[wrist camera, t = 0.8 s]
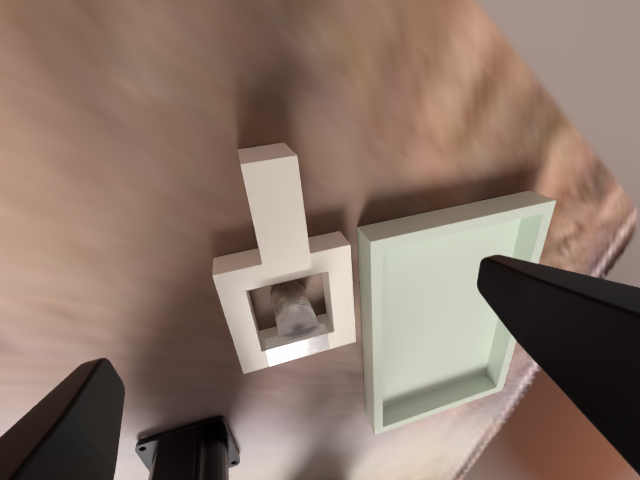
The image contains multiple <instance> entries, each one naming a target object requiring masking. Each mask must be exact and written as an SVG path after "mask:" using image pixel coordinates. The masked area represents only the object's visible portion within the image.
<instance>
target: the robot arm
mask: <svg viewBox="0 0 640 480" xmlns="http://www.w3.org/2000/svg"><path fill="white" fill-rule="evenodd" d="M477 288H478V291H479V293H480V294H481V295H482V297H483V298H484V299H485V301H486V302H487V303H488V305H489V306H490V307H491V308H492V310H493V311H494V312H495V314H496V315H497V316H498V318H499V319H500V320H501V322H502V323H503V324H504V326H505V327H506V328H507V330H508V331H509V332H510V333H511V335H512V336H513V337H514V338H515V340H516V341H517V342H518V343H519V344H520V345H521V347H522V348H523V349H524V350H525V351H526V352H527V353H528V354H529V355H530V356H531V358H532V359H533V360H534V361H535V362H536V363H537V364H538V365H539V366H540V367H541V368H542V370H543V371H544V372H545V373H546V374H547V375H548V376H549V377H550V378H551V379H552V380H553V381H554V383H556V385H557V386H558V387H559V388H560V389H561V390H562V391H563V392H564V393H565V395H566V396H567V397H568V398H569V399H570V400H571V401H572V402H573V403H574V405H575V406H576V407H577V408H578V409H579V410H580V411H581V412H582V413H583V414H584V415H585V417H586V418H587V419H588V420H589V421H590V422H591V423H592V424H593V425H594V426H595V427H596V429H597V430H598V431H599V432H600V433H601V434H602V435H603V436H604V437H605V438H606V439H607V441H608V442H609V443H610V444H611V445H612V446H613V447H614V448H615V449H616V450H617V452H619V454H620V455H621V456H622V457H623V458H624V459H625V460H626V461H627V462H628V464H629V465H630V466H631V467H632V468H633V469H634V470H635V471H636V472H637V473H638V475H639V476H640V288H638V287H634V286H630V285H626V284H621V283H617V282H613V281H609V280H604V279H600V278H596V277H592V276H588V275H583V274H579V273H575V272H571V271H566V270H562V269H558V268H554V267H550V266H545V265H541V264H537V263H533V262H528V261H524V260H520V259H516V258H511V257H507V256H503V255H492V256H488V257H485V258H483V259H482V260H481V262H480V266H479V272H478V278H477ZM124 397H125V388H124V384H123V382H122V380H121V378H120V377H119V375H118V374H117V372H116V370H115V369H114V367H113V365H112V364H111V362H110V361H109V360H108V359H106V358H100V359H96V360H92V361H88V362H85V363H83V364H81V365H80V366H79V367H77V368H76V369H75V370H74V371H73V372H72V373H71V374H70V375H69V376H68V377H66V378H65V379H64V380H63V381H62V382H61V383H60V384H59V385H58V386H56V387H55V388H54V389H53V390H52V391H51V392H50V393H49V394H48V395H47V396H45V397H44V398H43V399H42V400H41V401H40V402H39V403H38V404H37V405H35V406H34V407H33V408H32V409H31V410H30V411H29V412H28V413H27V414H26V415H24V416H23V417H22V418H21V419H20V420H19V421H18V422H17V423H16V424H14V425H13V426H12V427H11V428H10V429H9V430H8V431H7V432H6V433H5V434H3V435H2V436H1V437H0V480H113V479H114V474H115V468H116V462H117V454H118V446H119V438H120V430H121V422H122V413H123V405H124ZM135 451H136V453H137V454H138V456H139V457H140V458H141V460H142V461H143V463H144V464H145V466H146V467H147V469H148V470H149V472H150V474H149V480H229V468H230V467H233V466H236V465H238V464H239V463H240V456H239V454H238V451H237V449H236V446H235V444H234V441H233V439H232V436H231V434H230V431H229V429H228V426H227V424H226V421H225V419H224V417H222V416H217V417H213V418H210V419H207V420H204V421H201V422H197V423H194V424H191V425H188V426H184V427H181V428H178V429H175V430H171V431H168V432H165V433H162V434H158V435H155V436H152V437H149V438H146V439H142V440H140V441H138V442H137V444H136V448H135Z"/></svg>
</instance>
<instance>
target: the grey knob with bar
mask: <svg viewBox="0 0 640 480" xmlns="http://www.w3.org/2000/svg"><path fill="white" fill-rule="evenodd" d="M271 301H272V306H273V311H274V315H275V320H276V325H277V329H278V334H279V336H276V337H273V338H269V339H265V346H266V352H267V356H268V360H269V364H270V366H272V365H276V364H279V363H283V362H286V361H290V360H293V359H297V358H300V357H304V356H307V355H311V354H314V353H317V352H321V351H324V350H328V349H330V347H329V338H328V332H327V330H326V328H325V325H324V324H321V325H319V324H318V321H317V319H316V316H315V313H314V311H313V308H312V306H311V303H310V301H309V298H308V295H307V293H306V290H305V288H304V286H303V285H302V284H301V283H300V282H298V281H296V280H290V281H286V282H281V283H278V284H277V285H276V286H275V287H274V288H273V290H272V292H271Z"/></svg>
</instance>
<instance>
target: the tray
mask: <svg viewBox="0 0 640 480" xmlns="http://www.w3.org/2000/svg"><path fill="white" fill-rule="evenodd" d="M555 203H556V200H554V199H552V198H549V197H546V196H543V195H540V194H537V193H534V192H532V191H524V192H520V193H515V194H510V195H506V196H501V197H496V198H492V199H487V200H482V201H477V202H473V203H468V204H463V205H459V206H454V207H449V208H445V209H440V210H435V211H431V212H426V213H421V214H417V215H412V216H407V217H402V218H398V219H393V220H388V221H384V222H379V223H374V224H370V225H365V226H360V227H357V239H358V262H359V285H360V308H361V331H362V354H363V377H364V399H365V414H366V416H367V419H368V421H369V423H370V426H371V428H372V430H373V433H374V435H377V434H380V433H383V432H386V431H388V430H391V429H394V428H397V427H400V426H403V425H405V424H408V423H411V422H414V421H417V420H420V419H422V418H425V417H428V416H431V415H434V414H436V413H439V412H442V411H445V410H448V409H451V408H453V407H456V406H459V405H462V404H465V403H467V402H470V401H473V400H476V399H479V398H482V397H484V396H487V395H490V394H493V393H496V392H499V391H501V390H502V389H503V386H504V382H505V379H506V375H507V372H508V368H509V365H510V361H511V358H512V354H513V351H514V347H515V344H516V340H515V338H514V337H513V336H512V335H511V333H510V332H509V331H508V330H507V328H506V327H505V326H504V324H503V323H502V322H501V320H500V319H499V318H498V316H497V315H496V314H495V312H494V311H493V310H492V308H491V307H490V306H489V305H488V303H487V302H486V301H485V299H484V298H483V297H482V295H481V294H480V293H479V291H478V288H477V278H478V272H479V266H480V262H481V260H482V259H483V258H485V257H488V256H492V255H503V256H507V257H511V258H516V259H520V260H524V261H528V262H533V263H537V264H538V263H539V259H540V256H541V252H542V249H543V245H544V242H545V238H546V235H547V231H548V228H549V224H550V221H551V217H552V214H553V210H554V207H555Z"/></svg>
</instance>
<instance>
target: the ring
mask: <svg viewBox="0 0 640 480" xmlns="http://www.w3.org/2000/svg"><path fill="white" fill-rule="evenodd" d="M238 155H239V160H240V165H241V170H242V174H243V179H244V183H245V188H246V192H247V197H248V202H249V206H250V211H251V215H252V220H253V224H254V229H255V233H256V238H257V242H258V247H259V248H257V249H252V250H248V251H243V252H238V253H234V254H229V255H224V256H220V257H215V258H213V272H212V276H213V279H214V283H215V286H216V289H217V292H218V295H219V298H220V302H221V305H222V308H223V311H224V314H225V317H226V320H227V324H228V327H229V330H230V333H231V336H232V339H233V342H234V346H235V349H236V352H237V355H238V358H239V361H240V364H241V368H242V371H243V374H245V373H249V372H252V371H256V370H259V369H263V368H266V367H270V364H269V360H268V356H267V352H266V346H265V339H269V338H273V337H276V336H279V334H278V329H277V326H276V327H272V328H268V329H264V330H260V331H259V329H258V326H257V322H256V318H255V314H254V310H253V306H252V302H251V298H250V295H249V291H248V290H252V289H256V288H260V287H265V286H269V285H273V284H277V283H281V282H286V281H290V280H294V279H298V278H302V277H307V276H311V275H315V274H319V273H322V280H323V289H324V298H325V307H326V313H325V314H321V315H317V316H316V319H317V321H318V324H319V325H321V324H324V325H325V328H326V330H327V332H328V338H329V347H330V349H332V348H336V347H339V346H343V345H346V344H349V343H353V342H356V335H355V317H354V299H353V282H352V264H351V246H350V244H349V242H348V241H347V240H346V238H345V237H344V236H343V235H342V233H341V232H340V231H337V232H332V233H327V234H323V235H318V236H313V237H309V238H308V234H307V227H306V219H305V211H304V204H303V196H302V188H301V181H300V173H299V165H298V158H297V155H296V154H295V153H294V152H293V151H292V150H291V149H290V148H289V147H288V146H287V145H286V144H285V143H277V144H271V145H264V146H257V147H251V148H244V149H238ZM328 350H329V349H328ZM324 351H325V350H324ZM321 352H322V351H321ZM317 353H318V352H317ZM314 354H315V353H314ZM307 356H308V355H307ZM300 358H301V357H300ZM293 360H294V359H293ZM290 361H291V360H290ZM286 362H287V361H286ZM283 363H284V362H283ZM279 364H280V363H279ZM276 365H277V364H276ZM272 366H273V365H272Z"/></svg>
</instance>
